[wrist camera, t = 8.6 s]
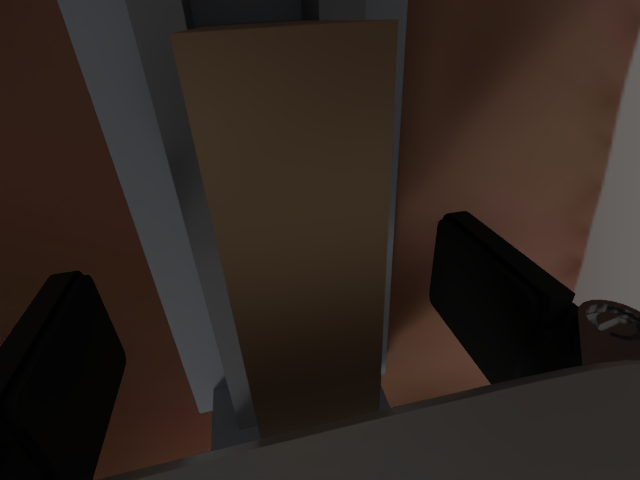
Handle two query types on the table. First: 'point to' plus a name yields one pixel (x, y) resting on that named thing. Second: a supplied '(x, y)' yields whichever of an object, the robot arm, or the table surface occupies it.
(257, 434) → the track base
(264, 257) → the door panel
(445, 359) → the table surface
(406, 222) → the table surface
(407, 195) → the table surface
